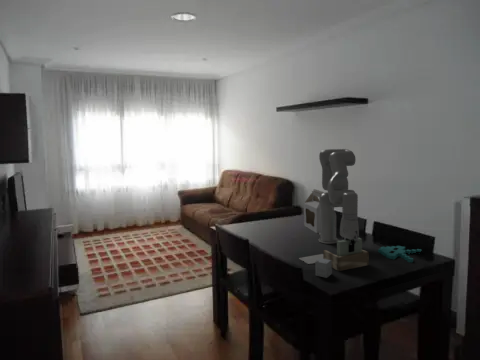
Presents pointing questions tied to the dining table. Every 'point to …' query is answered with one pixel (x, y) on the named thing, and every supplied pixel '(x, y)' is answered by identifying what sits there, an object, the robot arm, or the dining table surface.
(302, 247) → the dining table surface
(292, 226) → the dining table surface
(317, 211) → the gable box
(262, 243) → the dining table surface
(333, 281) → the dining table surface
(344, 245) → the sheet
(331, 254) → the brown wooden open box
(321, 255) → the felt mat
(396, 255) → the alien figure
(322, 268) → the skincare box
